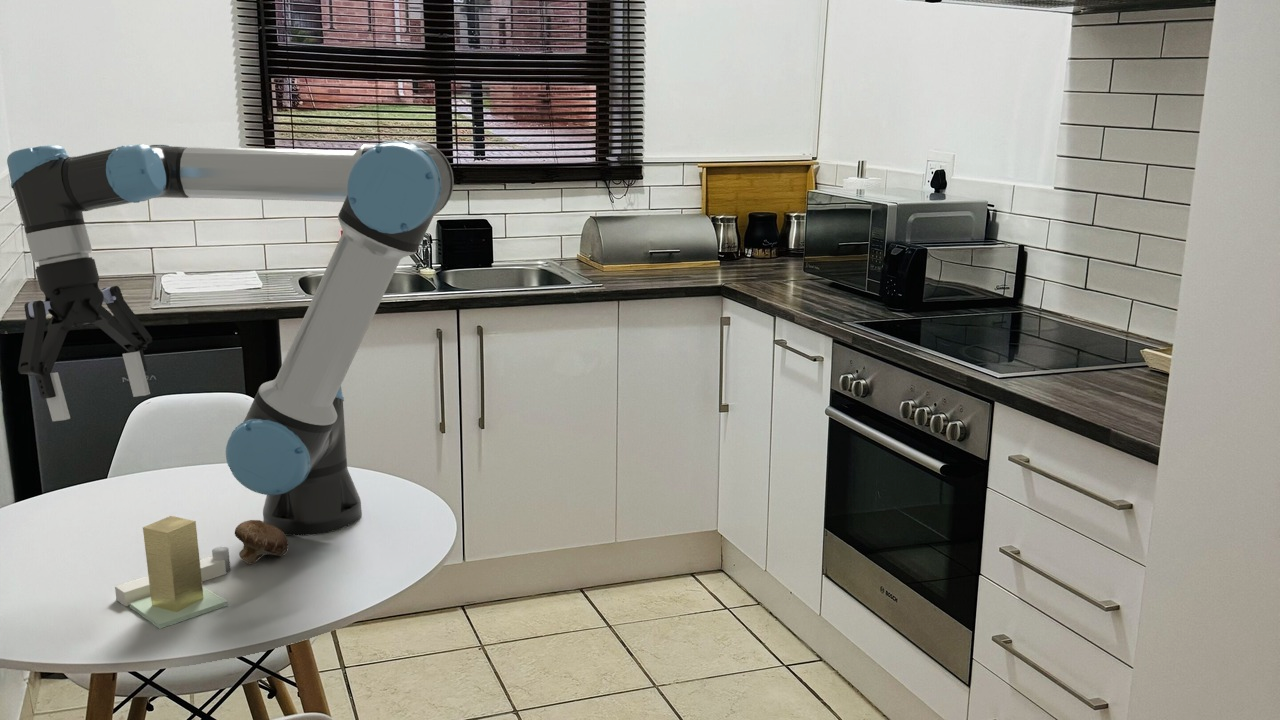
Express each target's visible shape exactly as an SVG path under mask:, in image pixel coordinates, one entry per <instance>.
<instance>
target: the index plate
mask: <svg viewBox="0 0 1280 720" xmlns="http://www.w3.org/2000/svg"><path fill="white" fill-rule="evenodd" d="M202 587H203V597H204V598H203V599H202V600H200V601H198V602H196V603H194V604H192V605H190V606H188V607H186V608H184V609H182V610H180V611H178V612H174V611H170V610H166V609H162V608H159V607H155V606H152V602H151V596H150V597H147V598H144V599H141V600H138V601H135V602H132V603H130V605H129V608H130V609H132V610H133V611H135V612H136V613H137V614H138V615H140V616H141V617H143V618H144V619H145V620H147V621H148V622H150V623H151V624H153V626H155V627H156V628H157V629H163V628H165V627H169V626H172V625H174V624H179V623H181V622H183V621H186V620H189V619H191V618H196V617H198V616H200V615H203V614H206V613H209V612H213V611H215V610H218V609H220V608H224V607H227V606H228V601H227V600H226V599H224V598H223V597H221V596H219V595H218V594H216V593H214V592H212V591H211V590H210V589H208V588H206V587H205V586H203V585H202Z"/></svg>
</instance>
